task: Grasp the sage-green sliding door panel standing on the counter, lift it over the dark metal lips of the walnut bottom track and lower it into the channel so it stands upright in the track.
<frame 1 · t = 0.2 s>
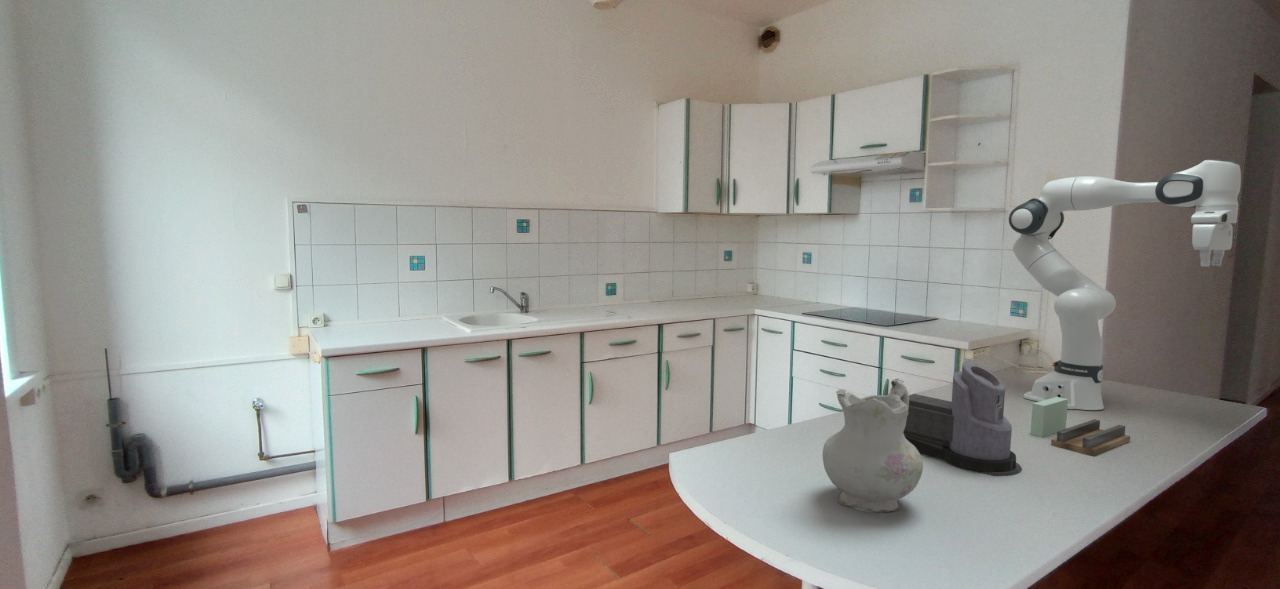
hand: (1210, 266, 178), 48 cm above the table, fingers open, 8 cm apart
ceramic pitcher: (871, 500, 132), on the table
door panel: (1048, 432, 179), on the table
juicer: (954, 456, 159), on the table
bottom track: (1090, 443, 169), on the table
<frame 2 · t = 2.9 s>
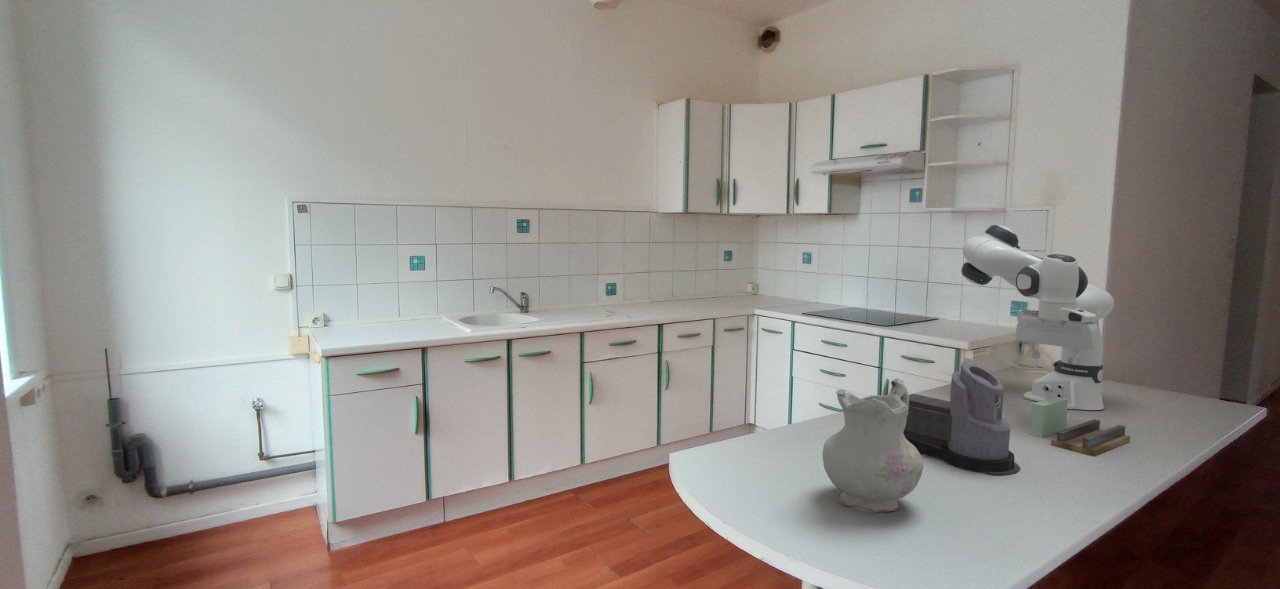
hand: (1053, 361, 177), 20 cm above the table, fingers open, 8 cm apart
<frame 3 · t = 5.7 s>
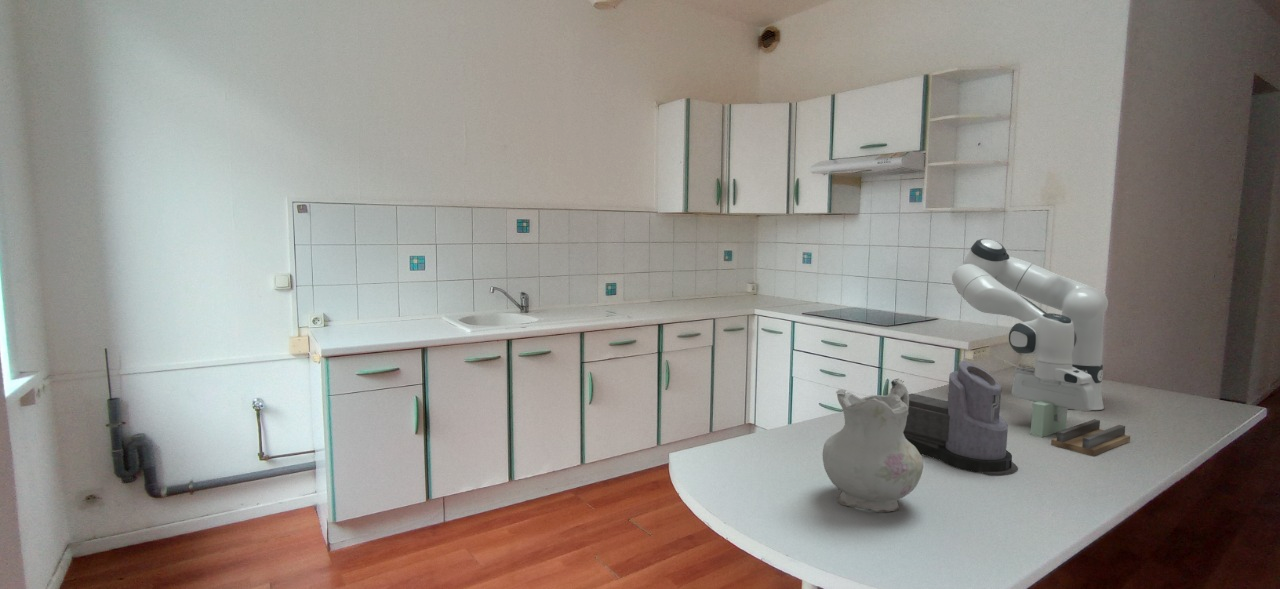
hand: (1049, 419, 179), 4 cm above the table, fingers closed on door panel, 3 cm apart
door panel: (1048, 431, 179), on the table, touching gripper
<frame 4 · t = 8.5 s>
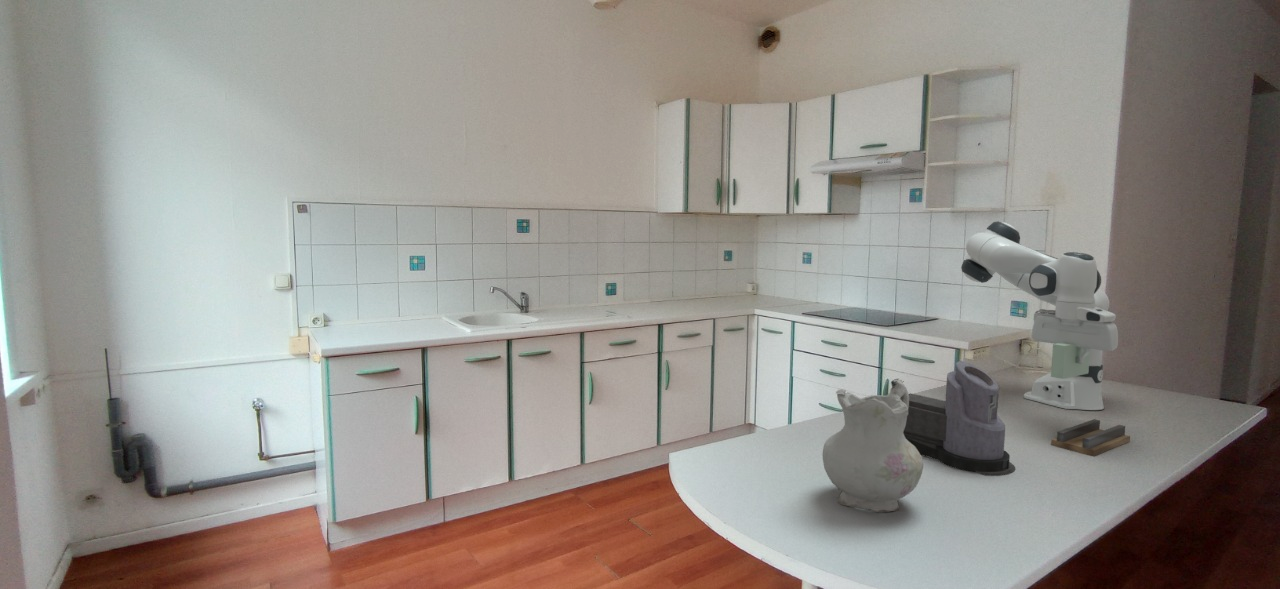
hand: (1071, 362, 173), 21 cm above the table, fingers closed on door panel, 3 cm apart
door panel: (1069, 375, 173), point 17 cm above the table, touching gripper
when the fingers open (6 cm above the table, at t = 11.7 s): door panel stays where it is, resting on bottom track.
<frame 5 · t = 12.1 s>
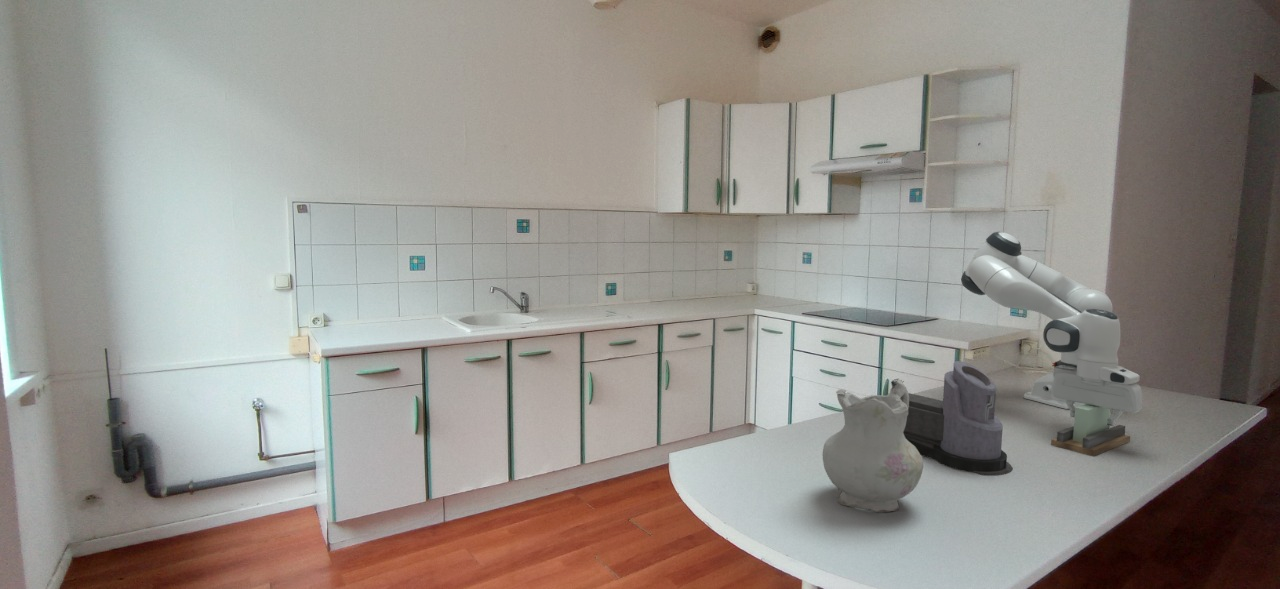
hand: (1092, 421, 169), 6 cm above the table, fingers open, 7 cm apart
door panel: (1091, 437, 169), point 1 cm above the table, touching bottom track
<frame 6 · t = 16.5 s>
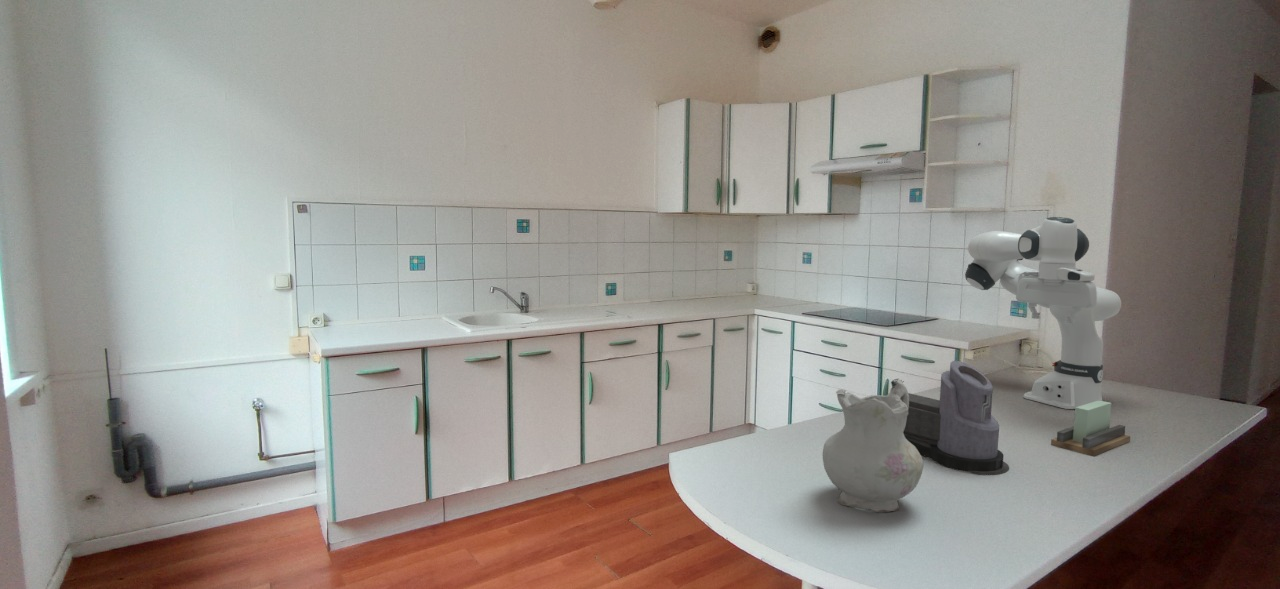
hand: (1052, 320, 183), 31 cm above the table, fingers open, 8 cm apart
at the end: door panel inside the target area on the bottom track (0.0 cm from its centre), point 1.5 cm above the bottom track's base; door panel tilted 0°; the gripper is holding nothing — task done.
